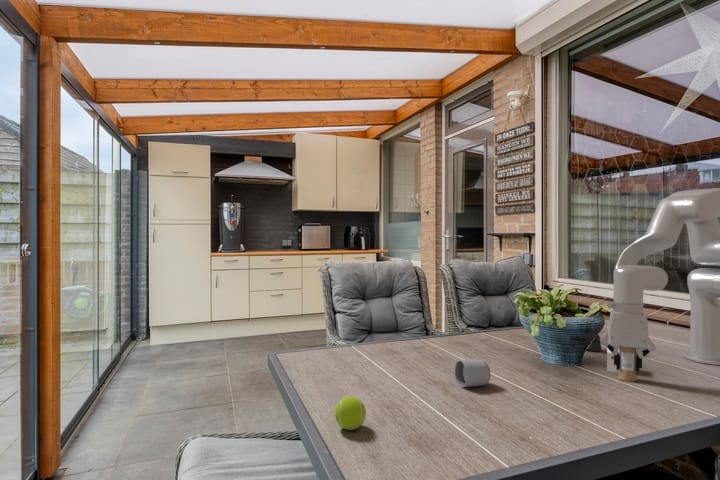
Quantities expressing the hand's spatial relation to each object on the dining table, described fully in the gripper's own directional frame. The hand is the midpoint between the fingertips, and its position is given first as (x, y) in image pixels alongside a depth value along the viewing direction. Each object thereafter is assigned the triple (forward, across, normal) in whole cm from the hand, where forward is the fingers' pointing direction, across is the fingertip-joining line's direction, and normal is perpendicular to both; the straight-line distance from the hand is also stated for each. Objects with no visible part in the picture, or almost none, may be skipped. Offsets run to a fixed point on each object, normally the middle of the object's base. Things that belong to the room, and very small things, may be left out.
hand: (627, 368), depth 129 cm
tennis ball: (+4, -55, -69) cm, 88 cm away
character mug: (+4, -11, +31) cm, 33 cm away
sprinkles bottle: (+4, 0, 0) cm, 4 cm away
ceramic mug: (+4, -40, -28) cm, 49 cm away
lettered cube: (+4, -2, +9) cm, 10 cm away
